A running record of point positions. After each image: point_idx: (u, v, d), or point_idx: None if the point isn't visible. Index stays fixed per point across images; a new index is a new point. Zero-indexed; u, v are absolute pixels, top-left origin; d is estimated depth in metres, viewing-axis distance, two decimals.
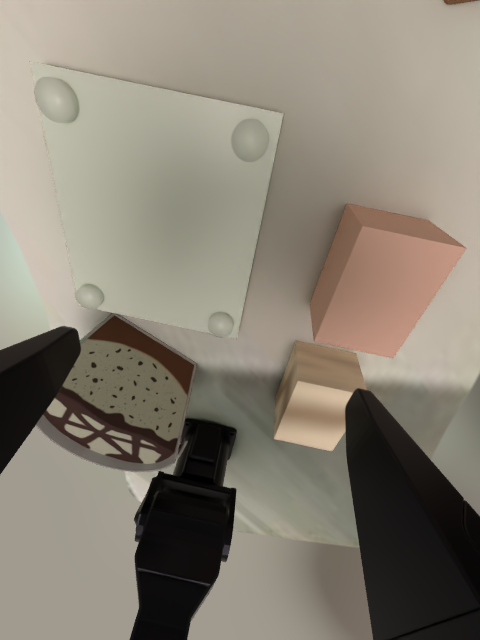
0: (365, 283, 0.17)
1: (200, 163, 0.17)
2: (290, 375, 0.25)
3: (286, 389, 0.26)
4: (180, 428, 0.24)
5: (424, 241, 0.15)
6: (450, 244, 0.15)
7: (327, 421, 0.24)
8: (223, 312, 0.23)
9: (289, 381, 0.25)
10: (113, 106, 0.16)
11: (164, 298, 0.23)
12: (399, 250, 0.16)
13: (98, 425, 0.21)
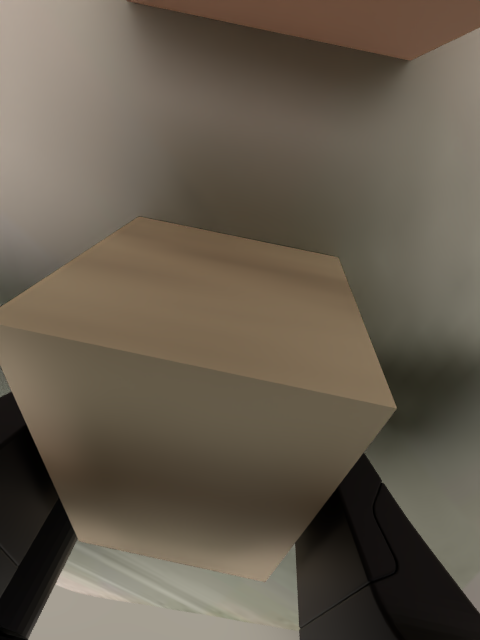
0: None
1: None
2: None
3: None
4: None
5: None
6: None
7: (220, 510, 0.06)
8: None
9: None
10: None
11: None
12: None
13: None
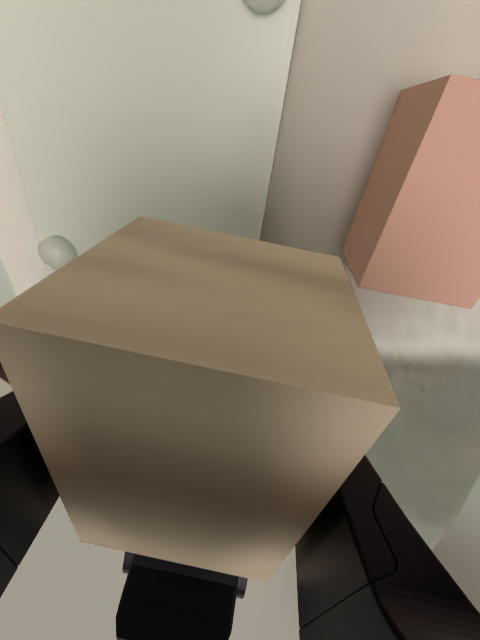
0: (444, 183, 0.11)
1: (192, 27, 0.12)
2: None
3: None
4: None
5: None
6: None
7: (221, 510, 0.06)
8: None
9: None
10: None
11: None
12: None
13: None
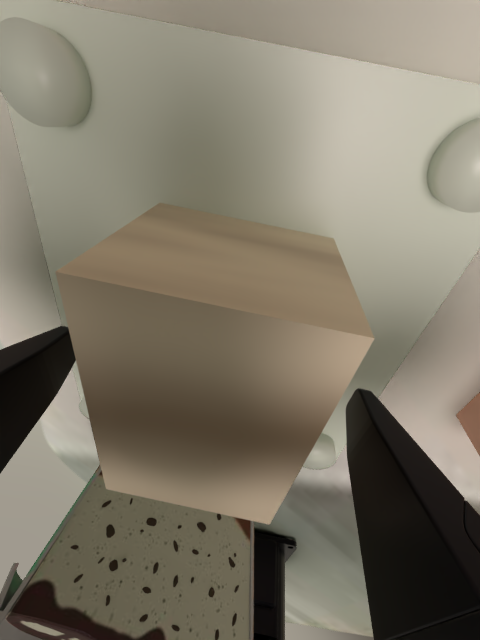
0: None
1: (340, 209, 0.08)
2: None
3: None
4: (249, 618, 0.15)
5: None
6: None
7: (233, 446, 0.07)
8: None
9: None
10: (168, 90, 0.07)
11: None
12: None
13: None
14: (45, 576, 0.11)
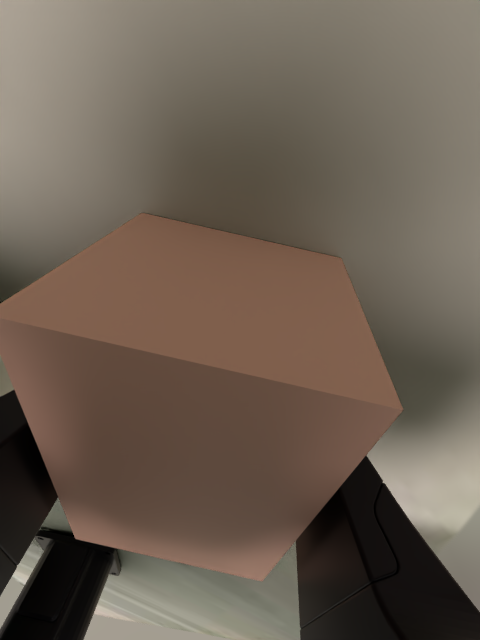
0: (113, 462, 0.05)
1: None
2: None
3: None
4: None
5: (236, 378, 0.04)
6: (341, 391, 0.04)
7: None
8: None
9: None
10: None
11: None
12: (161, 397, 0.04)
13: None
14: None
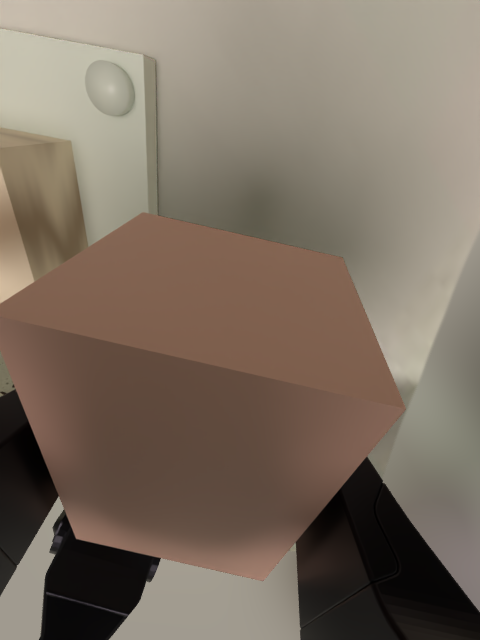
0: (114, 462, 0.05)
1: (66, 121, 0.15)
2: None
3: None
4: None
5: (239, 377, 0.04)
6: (343, 390, 0.04)
7: None
8: None
9: None
10: None
11: None
12: (162, 395, 0.04)
13: None
14: None
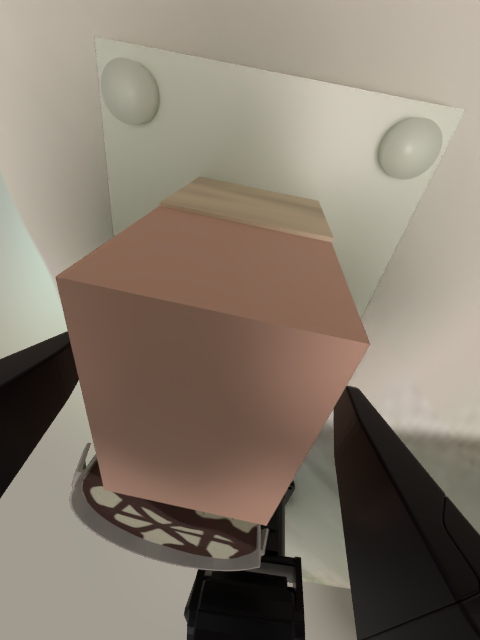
0: (144, 406, 0.07)
1: (322, 180, 0.12)
2: None
3: None
4: None
5: (244, 323, 0.05)
6: (323, 332, 0.05)
7: None
8: None
9: None
10: (210, 101, 0.11)
11: None
12: (186, 341, 0.05)
13: (162, 520, 0.16)
14: None
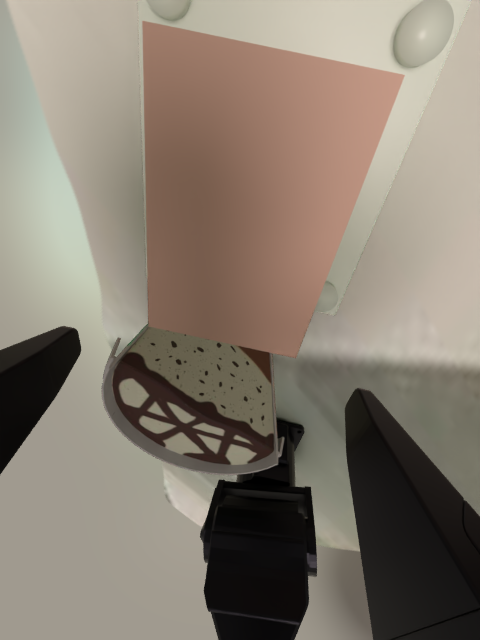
0: (199, 192, 0.08)
1: None
2: None
3: None
4: (272, 421, 0.20)
5: (299, 61, 0.06)
6: (365, 68, 0.06)
7: None
8: (326, 281, 0.19)
9: None
10: None
11: None
12: (246, 93, 0.06)
13: (186, 416, 0.17)
14: (137, 351, 0.16)
